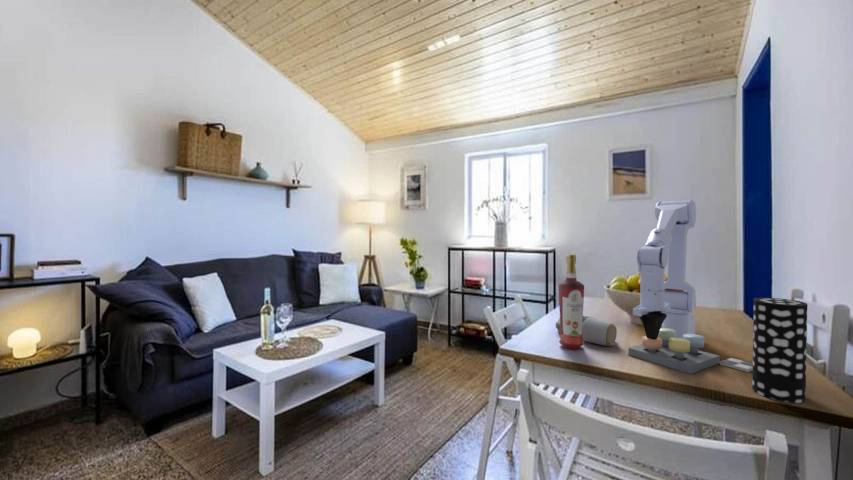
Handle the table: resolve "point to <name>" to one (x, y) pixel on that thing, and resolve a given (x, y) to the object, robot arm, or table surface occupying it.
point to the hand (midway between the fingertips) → (651, 338)
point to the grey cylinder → (599, 332)
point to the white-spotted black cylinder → (780, 349)
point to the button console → (668, 359)
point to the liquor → (571, 307)
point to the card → (738, 364)
